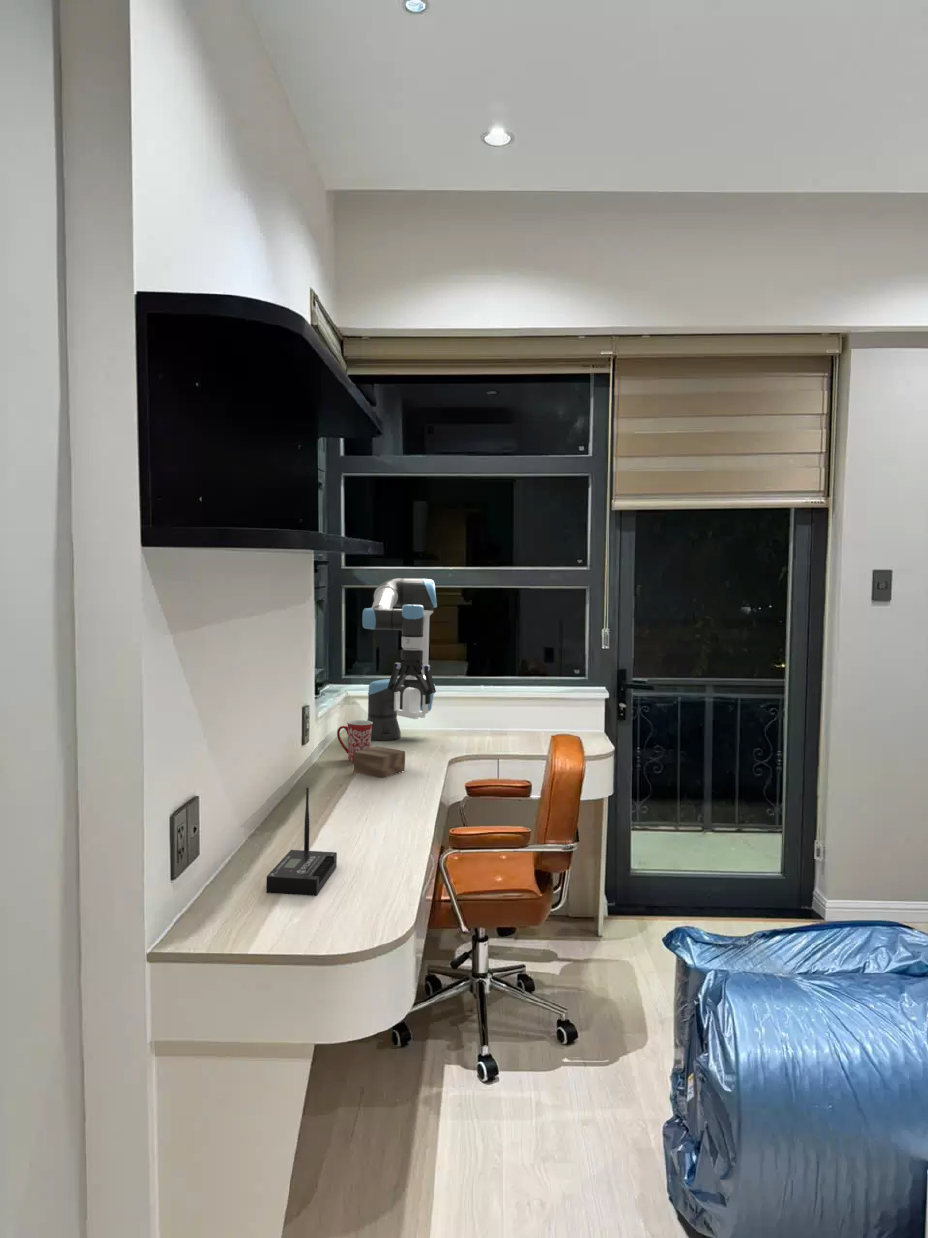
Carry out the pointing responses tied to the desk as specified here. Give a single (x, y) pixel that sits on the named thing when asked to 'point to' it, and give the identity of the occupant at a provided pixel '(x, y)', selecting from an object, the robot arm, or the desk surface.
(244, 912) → the desk surface
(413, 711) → the cable organizer
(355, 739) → the mug
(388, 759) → the walnut block
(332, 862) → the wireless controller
